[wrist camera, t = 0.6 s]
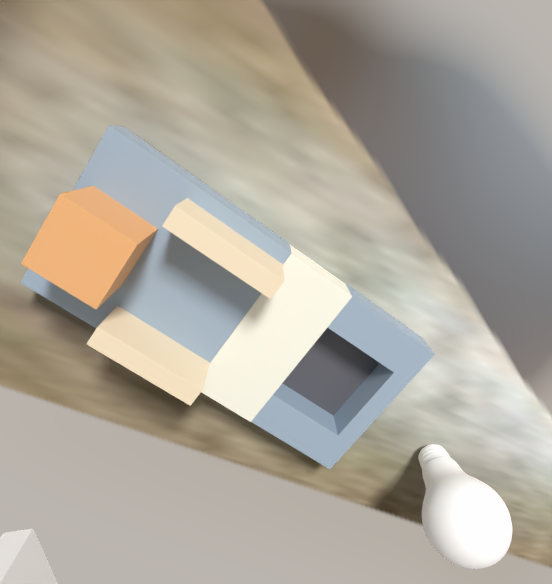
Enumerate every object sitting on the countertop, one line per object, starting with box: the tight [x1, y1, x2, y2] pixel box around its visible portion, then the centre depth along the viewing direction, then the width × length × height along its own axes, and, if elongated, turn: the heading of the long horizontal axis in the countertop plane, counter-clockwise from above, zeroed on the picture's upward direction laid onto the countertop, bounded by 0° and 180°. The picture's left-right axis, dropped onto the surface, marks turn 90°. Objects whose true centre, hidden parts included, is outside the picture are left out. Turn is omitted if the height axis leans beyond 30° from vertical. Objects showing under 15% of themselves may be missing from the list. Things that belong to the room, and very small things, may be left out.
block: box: [21, 186, 158, 309], centre depth 29 cm, size 5×5×5 cm
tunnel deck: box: [21, 125, 434, 469], centre depth 33 cm, size 28×13×7 cm, turn 54°
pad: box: [201, 245, 352, 422], centre depth 35 cm, size 6×13×3 cm, turn 144°
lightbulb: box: [418, 444, 512, 569], centre depth 35 cm, size 6×6×11 cm
